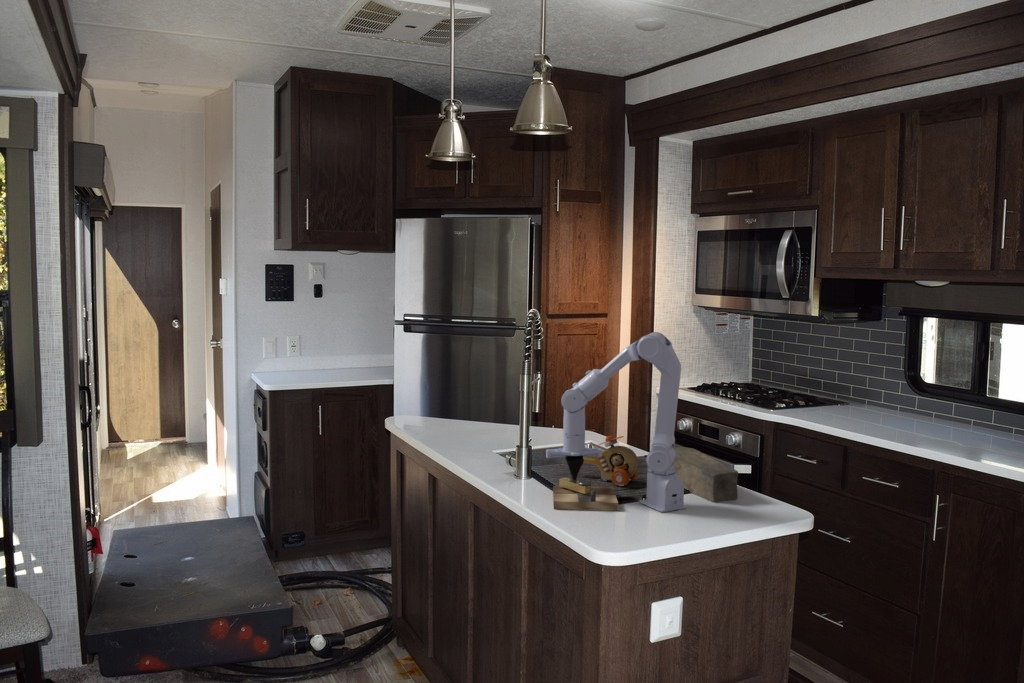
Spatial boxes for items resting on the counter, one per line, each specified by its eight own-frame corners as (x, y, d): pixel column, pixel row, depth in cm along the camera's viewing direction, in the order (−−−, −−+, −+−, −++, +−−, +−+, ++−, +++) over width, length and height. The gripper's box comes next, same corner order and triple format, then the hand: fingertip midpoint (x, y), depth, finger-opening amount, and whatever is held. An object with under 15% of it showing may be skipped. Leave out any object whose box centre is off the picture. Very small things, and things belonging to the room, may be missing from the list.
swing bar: (593, 492, 213) (593, 482, 213) (584, 494, 211) (585, 484, 211) (566, 484, 220) (566, 474, 220) (558, 486, 218) (558, 476, 218)
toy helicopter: (630, 489, 225) (631, 440, 224) (562, 478, 236) (563, 431, 234) (641, 482, 232) (642, 434, 231) (574, 472, 243) (575, 426, 241)
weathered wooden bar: (681, 476, 241) (686, 443, 240) (740, 506, 218) (746, 469, 217) (652, 476, 237) (657, 442, 236) (709, 507, 213) (715, 469, 212)
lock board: (613, 494, 220) (613, 477, 220) (617, 510, 207) (618, 492, 206) (553, 492, 221) (553, 476, 221) (553, 509, 207) (554, 491, 207)
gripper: (548, 437, 213) (548, 488, 215) (604, 436, 214) (603, 487, 216) (545, 431, 220) (544, 481, 222) (599, 430, 221) (598, 480, 223)
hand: (573, 483), depth 219 cm, fingers closed, pressing on swing bar
